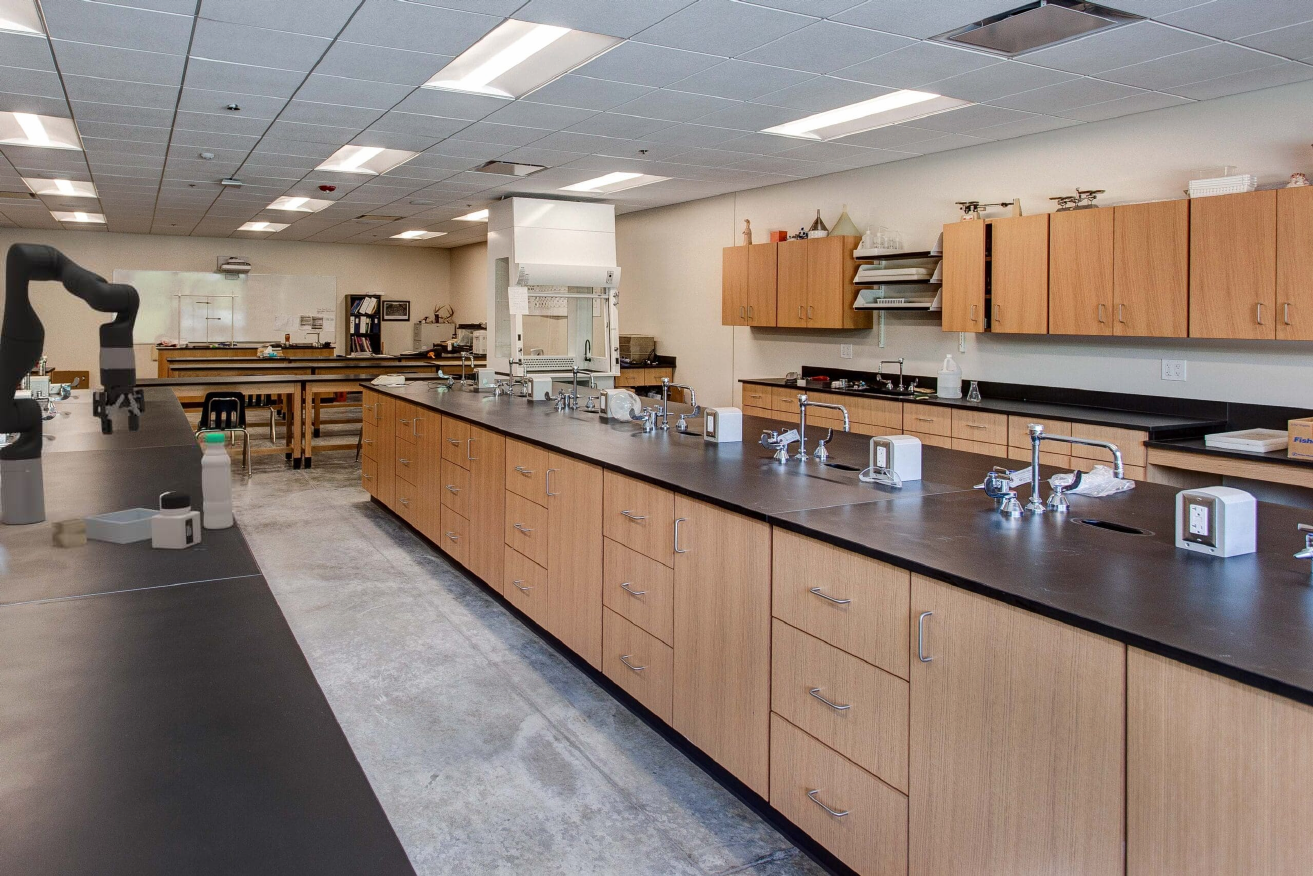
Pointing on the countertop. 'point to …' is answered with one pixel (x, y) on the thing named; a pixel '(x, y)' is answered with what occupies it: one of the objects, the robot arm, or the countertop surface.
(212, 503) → the water bottle
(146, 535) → the gray bin
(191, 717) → the countertop surface
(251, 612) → the countertop surface
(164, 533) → the container
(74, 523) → the maple block
